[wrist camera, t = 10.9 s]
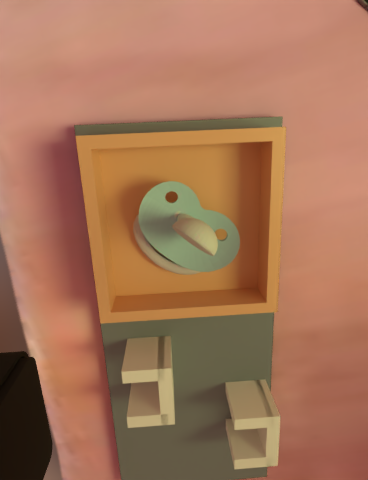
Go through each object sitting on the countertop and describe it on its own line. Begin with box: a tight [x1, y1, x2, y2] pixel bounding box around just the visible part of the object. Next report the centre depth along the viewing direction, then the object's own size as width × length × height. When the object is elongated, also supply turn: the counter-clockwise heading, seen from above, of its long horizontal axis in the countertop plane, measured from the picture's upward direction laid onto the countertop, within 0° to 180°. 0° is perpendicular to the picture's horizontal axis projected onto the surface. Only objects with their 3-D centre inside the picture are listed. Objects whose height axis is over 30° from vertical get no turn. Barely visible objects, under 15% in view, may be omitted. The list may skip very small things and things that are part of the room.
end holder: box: [76, 127, 286, 324], centre depth 23 cm, size 13×13×3 cm
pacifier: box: [133, 181, 240, 275], centre depth 21 cm, size 7×6×6 cm
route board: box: [74, 117, 282, 480], centre depth 26 cm, size 14×33×5 cm, turn 2°
